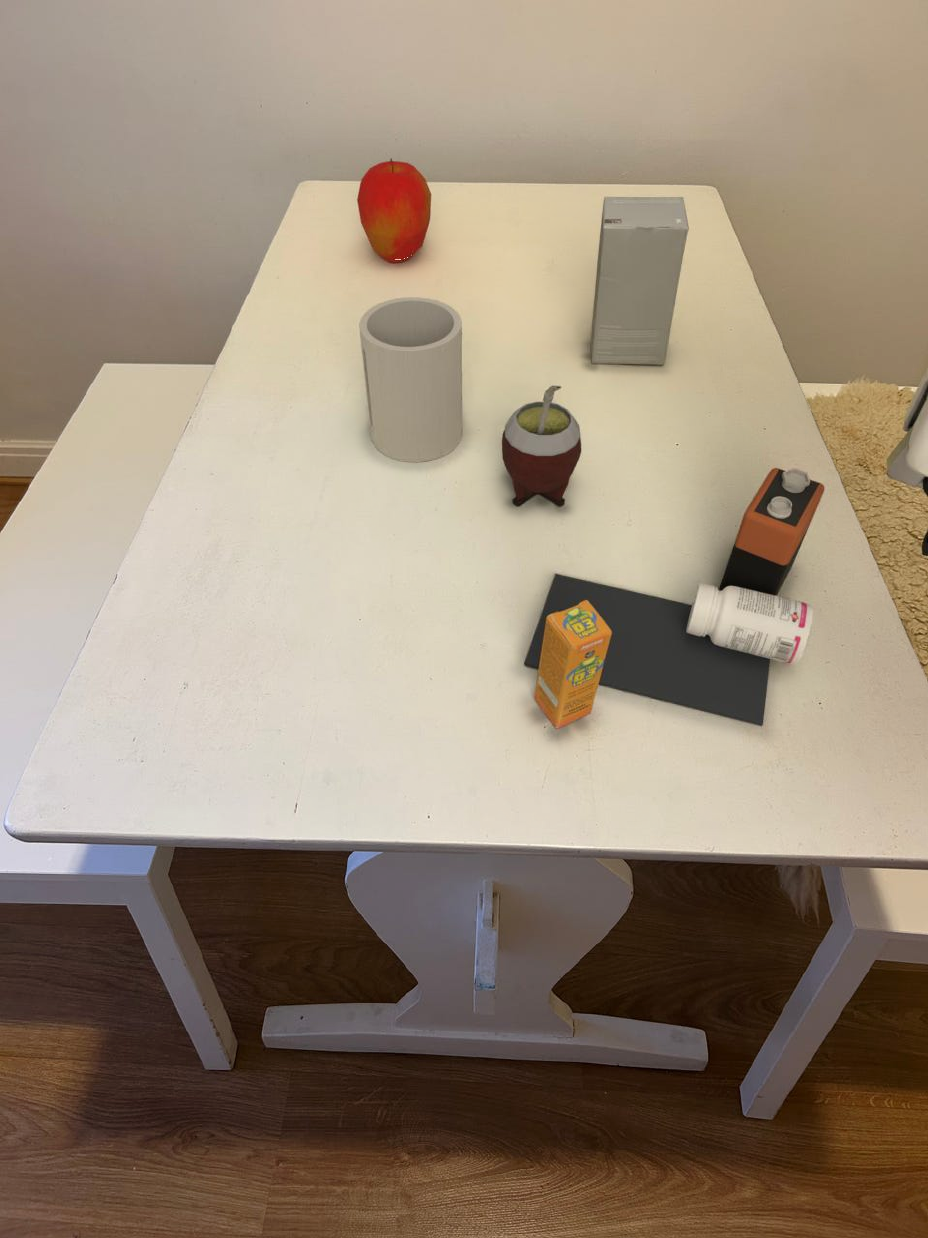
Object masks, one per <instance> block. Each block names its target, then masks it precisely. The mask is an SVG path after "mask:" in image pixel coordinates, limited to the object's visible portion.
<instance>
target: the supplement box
mask: <svg viewBox="0 0 928 1238" xmlns="http://www.w3.org/2000/svg"><path fill="white" fill-rule="evenodd" d="M611 634H612V631H611V629H610V628H609V627H608V625H607V624H606V623H605V621H604V620H603V619H602V618H601V616H600V615H599V614H598V613H597V611H596V610H595V609H594V608H593V606H592V605H591V604H590V603H589V602H588V600H584V601H582V602H580V603H579V605H576V606H574V607H572V608H569V609H566V610H564V611H561V612H555V613H552V614H550V615H548V616H547V618H546V625H545V632H544V638H543V645H542V651H541V657H540V663H539V669H537V670H538V671H537V676H536V684H535V689H534V695H533V697H534V700H535V701H536V703H537V704H538V705H539V707H540V708H541V710H542V711H543V713H544V714H545V715H546V717H547V718H548V720H549V721H550V723H552V725H553V726H554V728H555V729H560V728H562V727H564V726H566V725H568V724H570V723H573V722H575V721H577V720H579V719H581V718H583V717H585V716H587V715H589V714H591V713H592V710H593V705H594V703H595V697H596V694H597V691H598V687H599V685H598V684H599V680H600V677H601V672H602V668H603V664H604V661H605V657H606V653H607V649H608V646H609V642H610V638H611Z"/></svg>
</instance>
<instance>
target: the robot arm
mask: <svg viewBox="0 0 928 1238" xmlns="http://www.w3.org/2000/svg"><path fill="white" fill-rule="evenodd" d="M902 429H903V432H906V433H905V435H904V436H903V437H902V439H901V440H900V441H899V443H898V444H897V445H896V446H895V447H894V449H893V450H892V451H891V452H890V454H889V455H888V456H887V458H886V475H887V477H888V478H890V479H891V480H894V481H895V482H896V481H897V482H898V483H901V484H904V485H907V486H908V487H909V486H910V487H911V488H914V489H916V488H919V489H921V490H922V491H923V493H924V494H925V495H926V497H927V498H928V367H927V368H926V371H925V372H924V375H923V376H922V378H921V380H920V382H919V384H918V386H917V388H916V390H915V392H914V394H913V396H912V398H911V400H910V402H909V405H908V407H907V409H906V413H905V416H904V419H903V427H902ZM921 555H922V556H924V557H928V529H927V530H926V532H925V534H924V537H923V539H922V543H921Z"/></svg>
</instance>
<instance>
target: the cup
mask: <svg viewBox="0 0 928 1238" xmlns="http://www.w3.org/2000/svg"><path fill="white" fill-rule="evenodd" d="M358 323H359V324H358V327H359V337H360V348H361V356H362V365H363V376H364V384H365V393H366V402H367V414H368V421H369V431H370V439H371V442H372V445H373V446H374V447H375V449H376V450H378V452H380V453H381V454H382V455H384V456H386V457H388V458H390V459H393V460H396V461H399V462H400V461H401V462H406V463H422V462H423V463H424V462H430V461H434V460H437V459H440V458H442V457H444V456H447V455H449V454H450V453H451V452H452V451H453V450H455V449H456V448H457V447H458V445H460V442H461V441H462V439H463V321H462V317H461V315H460V314H459V312H458V311H457V310H456V309H455V308H454V307H452V306H450V305H449V304H447V303H445V302H443V301H440V300H436V299H433V298H428V297H420V296H419V297H418V296H417V297H416V296H407V297H399V298H393V299H389V300H385V301H383V302H380V303H377V304H376V305H374V306H371V307H370V308H369V309H367V310H366V312H365V313H364V314H363V315H362V316H361V318H360V320H359V322H358Z"/></svg>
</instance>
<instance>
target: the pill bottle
mask: <svg viewBox="0 0 928 1238" xmlns="http://www.w3.org/2000/svg"><path fill="white" fill-rule="evenodd" d="M691 605H692V608H691V612H690V616H689V620H688V624H687V630H686V632H687V633H689V634H693V635H696V636H703V637H705V635H709V636H710V638H711V641H712V642H713V643H714V644H715V645H718V646H721V647H725V648H729V649H733V650H737V651H741V652H745V653H749V654H752V655H756V656H760V657H764V658H768V659H770V660H772V661H775V662H780V663H784V664H788V665H795V664H796V665H797V663H799V662H800V661H801V659H802V657H803V655H804V652H805V649H806V647H807V644H808V640H809V637H810V634H811V629H812V625H813V620H814V609H813V606H812V605H810V604H809V603H806V602H803V601H800V600H799V601H798V600H795V599H790V598H787V597H783V596H779V595H777V596H775V595H770V594H766V593H762V592H758V591H753V590H749V589H745V588H741V587H736V586H727V587H726V588H724V589H723V590H722V591H719V587H717V586H714V585H711V584H706V583H698V585H697V588H696V592H695V594H694V598H693V602H692V604H691Z"/></svg>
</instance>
